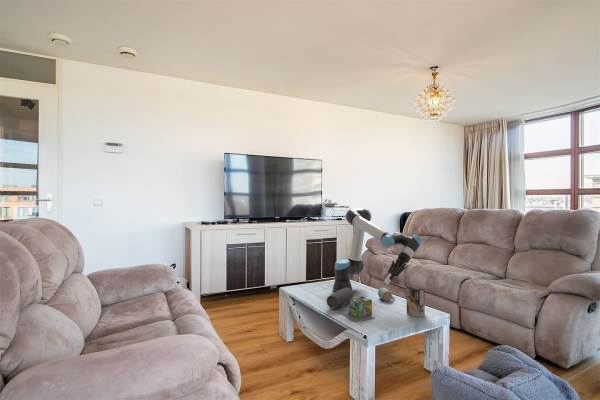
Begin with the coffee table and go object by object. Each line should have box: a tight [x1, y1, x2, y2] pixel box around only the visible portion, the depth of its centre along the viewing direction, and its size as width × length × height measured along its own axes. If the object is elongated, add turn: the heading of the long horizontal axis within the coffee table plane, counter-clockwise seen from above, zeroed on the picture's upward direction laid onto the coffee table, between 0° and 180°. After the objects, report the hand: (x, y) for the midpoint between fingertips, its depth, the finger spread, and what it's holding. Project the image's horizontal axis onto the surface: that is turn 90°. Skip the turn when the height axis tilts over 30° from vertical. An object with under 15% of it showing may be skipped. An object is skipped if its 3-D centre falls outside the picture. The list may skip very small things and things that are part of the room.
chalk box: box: [346, 296, 373, 318], centre depth 195 cm, size 9×9×15 cm
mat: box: [336, 308, 375, 323], centre depth 195 cm, size 20×14×1 cm
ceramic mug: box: [377, 287, 396, 302], centre depth 225 cm, size 11×8×8 cm
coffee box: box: [405, 286, 426, 318], centre depth 195 cm, size 9×6×16 cm
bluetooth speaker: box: [326, 288, 354, 309], centre depth 213 cm, size 23×9×10 cm, turn 145°
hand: (386, 282), depth 205 cm, fingers closed
